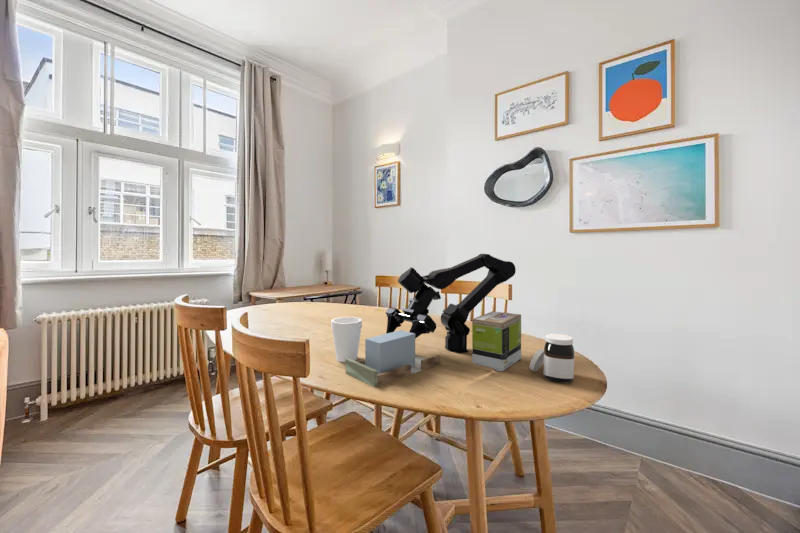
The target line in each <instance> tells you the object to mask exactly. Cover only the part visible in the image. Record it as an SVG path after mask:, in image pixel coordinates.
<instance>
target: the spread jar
mask: <svg viewBox="0 0 800 533" xmlns="http://www.w3.org/2000/svg"><path fill="white" fill-rule="evenodd" d="M545 341H546V342H545V343H544V345H543V346H544V347H543V348H539V349H538V350H536V352H535V353H534V354H533V356H532V358H531V360H530V362H529V370H531V371H533V372H537V371H538V370H539V369H540V368H541V367H542V365H543V367H542V369H543V370H542V372H543V377H544V378H545V379H546V380H548V381H550V382H553V383H557V384H558V383H559V384H567V383H571V382H573V381H574V375H575V348H574V345H573V344H574V338H573V336H570V335H567V334H562V333H549V334H546V335H545Z"/></svg>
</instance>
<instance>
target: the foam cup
mask: <svg viewBox="0 0 800 533" xmlns="http://www.w3.org/2000/svg"><path fill="white" fill-rule="evenodd" d="M362 320H363V319H362V318H360V317H356V316H340V317H335V318H333V319H331V320H330V321H331V322H330V324H331V325H330V327H331V330H332V331H331V332H332V338H333V345H334V346H333V347H334V350H335V351H334V352H335V359H336V361H337V362H339V363H346V359H348V358H349V359H351V360H354V361H357V359H358V357H359V356H358V355H359V347H360V341H361V332H362V327H363V321H362Z"/></svg>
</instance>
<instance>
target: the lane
mask: <svg viewBox="0 0 800 533" xmlns="http://www.w3.org/2000/svg"><path fill="white" fill-rule="evenodd" d="M441 358H442V357H441V355H440V354H437V355H434V356H431V357H428V358H425V357H421V356H418V355H416V354H415V367H414V368H411V365H409V364H408V365H405V366H402V367H399V368H396V369H393V370H390V371H387V372H384V373H380V374H377V370H375V369H372V368H370V367H368V366H365V359H360V360H355V361H354V360H351V359H349V358H348V359H346V362H345V374H346V375H348V376H351V377H353V378H355V379H356V380H359V381H361V382H364V383H365V384H368V385H369V386H371V387H373V388H375V387H379V386H381V385H384V384H387V383H391V382H393V381H395V380H398V379H401V378H404V377H407V376H411V375H414V374H415V373H418V372H422V371H425V370H427V369H430V368H433V367H435V366H439V365H441Z"/></svg>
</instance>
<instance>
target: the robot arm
mask: <svg viewBox="0 0 800 533" xmlns="http://www.w3.org/2000/svg"><path fill="white" fill-rule="evenodd" d="M481 268H486V269H487V270H488V272H487V275H486V277H484V278H483V280H481V281H480V282H479V283H478V285H477V286H475V287H474V288H473V289H472V290H471V291H470V292H469V294H468V295H466V296H465V297H464V298H463V299H462V300H461V301H460V302H459V303H458V304H454V303H449V305H448V306H447V307H446V308H445V309H443V310H442V313H441V316H440V323H441V324H442V325H443V326H444V328H445V330H446V336H445V344H444V349H446V350H447V351H448V352H452V353H455V354H457V353H459V354H460V353H468V352H469V351H470V350H469V349H468V348H467V345H468V344H467V343H468V336H469V334H470V331H471V328H469V327H468V325H466V322H467V320H468V317H469V315H470V313H471V312H472V311H473V310H474V309H475V307H477V306H478V305H479V304H480V303H481V302H482V301H483V300H484V299H485V298H486V297H487V296H488V295H489V294H490V293H491V292H492V291H493V290H494V289H495V288H496V287H497V286H498V285H501V284H503V283H504V282H507V281H509V279H511V278H513V277H514V276H515V274H516V270H517V268H516V265H515V264H514V262H512V261H508V260H507V261H506V260H502V259H501V258H500V259H499V258H498V257H494V256H492V255H491V254H489V253H480V254H478V255H477V256H474V257H472V258H470V259H467V260H465V261H463V262H461V263H458V264H456V265H454V266H451V267H447V268H440V269H437V270H432V271H431V272H429V273H428V274H427V275H421V274H420V273H419V272H417V270H416V269H415V268H414V267H409V269H407V270H406V271H404V273H401V275H400V276H399V277H398V279H397V283H398V284H399V285H401V287H402V288H404V289H405V290H406V291H407V292H408V293H410V294H413V293H414V294H415V295H414V296H413V298H411V297H409V299H408V301H409V304H408V305H407V307H403V308H402V312H403V313H402V312H401V311H400V310H399V309H398V308H396V307H388V308H387V310H386V311H385V312H384V313H385V315H386V317H387V324H386V332H385V334H387V333H391V332H395V331H397V328H399V327H402V324H403V323H404V322H410V323H412V324H411V327H410V330H409V332H411V333H415V340H416V339H417V338H418V337H420V336H422V335H424V334H425V335H426V334H430V333H433V334H434V332H435V331H436V329H437V323H436V322H435V320H434V319H433V318H432V317H431V316H430V315H429V313H430V312H429V311H430V310H429V307H430V305H431V304H432V303H433V300H434V301H437V300H441V298H442V297H441V295H440V291H439V290H444V289H446V288H448V287H449V286H450V285H452V284H453V283H454V282H455V281H457V280H458V279H459V278H461V277H464V276H466V275H468V274H471V273H473V272H475V271H477V270H480V269H481ZM428 285H429V286H428ZM434 288H435V289H437V290H438V291H436V290H435V289H434Z"/></svg>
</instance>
